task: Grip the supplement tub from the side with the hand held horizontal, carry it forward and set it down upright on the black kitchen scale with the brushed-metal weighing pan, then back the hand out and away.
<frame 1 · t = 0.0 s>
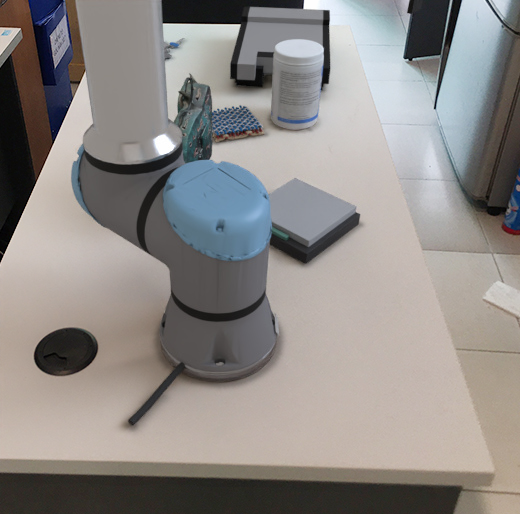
hand: (374, 1, 97), 28 cm above the table, tool pointing down, fingers open, 13 cm apart
supplement tub: (293, 121, 128), on the table
woven mat: (231, 128, 126), on the table
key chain: (161, 49, 155), on the table
camouflage fabric bag: (192, 198, 107), on the table
scale: (297, 225, 101), on the table
game console: (281, 68, 147), on the table
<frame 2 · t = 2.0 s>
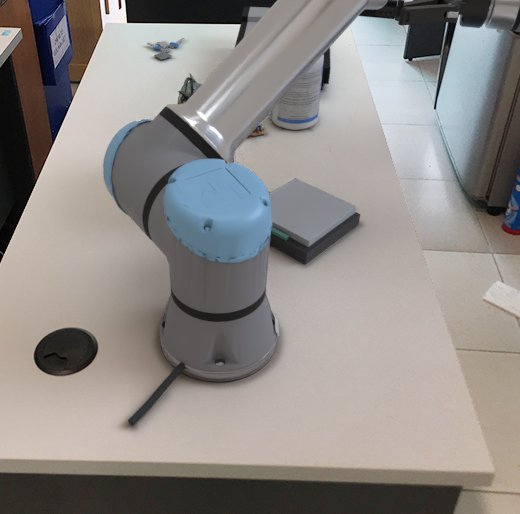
nothing on the table moved.
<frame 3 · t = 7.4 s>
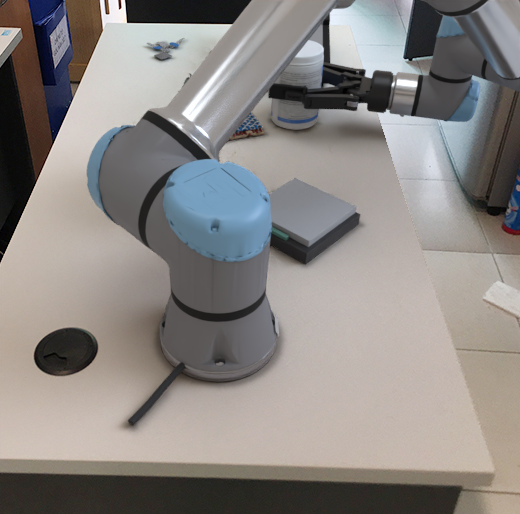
hand: (274, 79, 123), 8 cm above the table, tool horizontal, fingers closed on supplement tub, 9 cm apart
supplement tub: (293, 121, 128), on the table, touching gripper
everything else where it was.
when the fingers open (11 cm above the table, at t = 17.3 s): supplement tub stays where it is, resting on scale.
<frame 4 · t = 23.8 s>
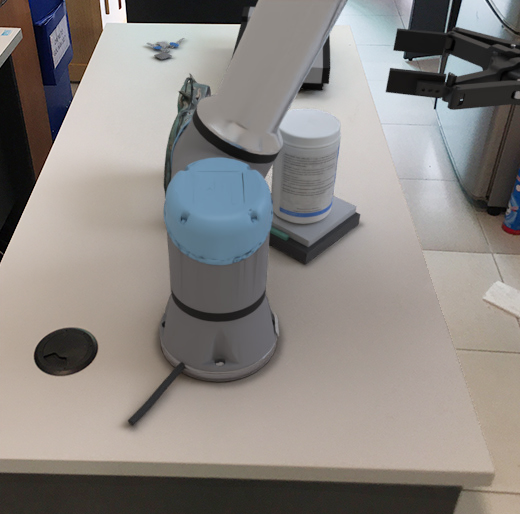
hand: (391, 58, 80), 28 cm above the table, tool horizontal, fingers open, 13 cm apart
supplement tub: (300, 209, 99), point 3 cm above the table, touching scale
everything else where it was.
at the end: supplement tub inside the target area on the scale (0.4 cm from its centre), point 3.0 cm above the scale's base; supplement tub tilted 0°; the gripper is holding nothing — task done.
